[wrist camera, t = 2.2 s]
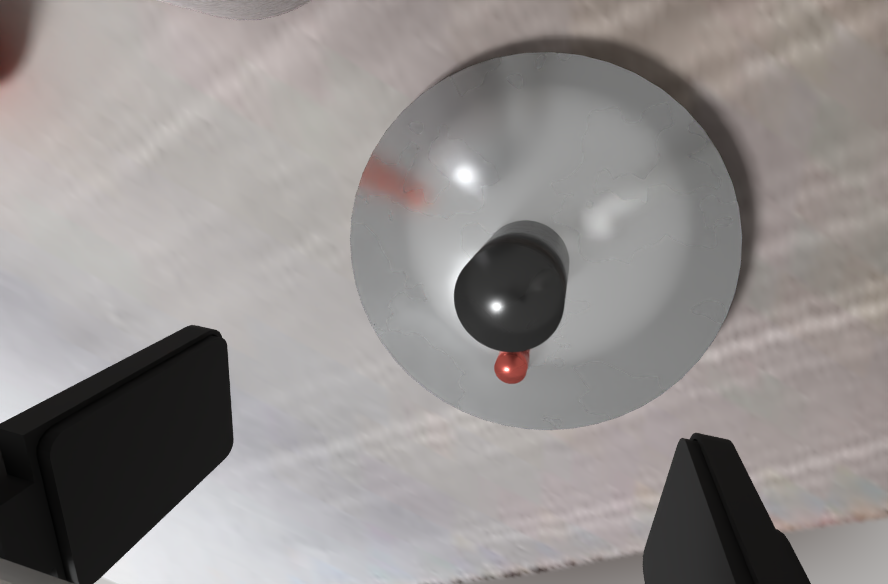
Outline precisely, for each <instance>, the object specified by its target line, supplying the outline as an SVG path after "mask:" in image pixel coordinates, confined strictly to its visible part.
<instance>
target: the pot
mask: <svg viewBox="0 0 888 584" xmlns="http://www.w3.org/2000/svg"><path fill="white" fill-rule="evenodd" d="M157 1H161V2H164V3H168V4H172V5H175V6H179V7H183V8H187V9H190V10H194V11H198V12H201V13H205V14H209V15H212V16H216V17H220V18H227V19H233V20H260V19H265V18H270V17H275V16H279V15H281V14H284V13H287V12H289V11H292V10H295V9H297V8H299V7H301V6H302V5H304V4H306V3H307V2H309V1H311V0H157Z"/></svg>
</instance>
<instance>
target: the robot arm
mask: <svg viewBox="0 0 888 584" xmlns="http://www.w3.org/2000/svg"><path fill="white" fill-rule="evenodd" d="M232 446H233V425H232V411H231V396H230V381H229V366H228V351H227V343H226V341H225V339H223V338H222V336H221V334H220V332H219V331H217V330H214V329H210V328H205V327H200V326H195V325H190V326H187V327H185V328H183V329H181V330H179V331H177V332H175V333H174V334H172V335H170V336H168V337H166V338H164V339H162V340H160V341H158V342H156V343H154V344H152V345H150V346H149V347H147V348H145V349H143V350H141V351H139V352H137V353H135V354H133V355H131V356H129V357H127V358H125V359H124V360H122V361H120V362H118V363H116V364H114V365H112V366H110V367H108V368H106V369H104V370H102V371H101V372H99V373H97V374H95V375H93V376H91V377H89V378H87V379H85V380H83V381H81V382H79V383H77V384H76V385H74V386H72V387H70V388H68V389H66V390H64V391H62V392H60V393H58V394H56V395H54V396H52V397H51V398H49V399H47V400H45V401H43V402H41V403H39V404H37V405H35V406H33V407H31V408H29V409H27V410H26V411H24V412H22V413H20V414H18V415H16V416H14V417H12V418H10V419H8V420H6V421H4V422H2V423H1V424H0V584H94V583H95V582H96V581H97V580H99V579H100V578H101V577H102V576H103V575H104V574H105V573H106V572H107V571H108V570H109V569H110V568H111V567H112V566H113V565H114V564H115V563H116V562H117V561H118V560H120V559H121V558H122V557H123V556H124V555H125V554H126V553H127V552H128V551H129V550H130V549H131V548H132V547H133V546H134V545H135V544H136V543H137V542H138V541H139V540H140V539H141V538H143V537H144V536H145V535H146V534H147V533H148V532H149V531H150V530H151V529H152V528H153V527H154V526H155V525H156V524H157V523H158V522H159V521H160V520H161V519H162V518H163V517H165V516H166V515H167V514H168V513H169V512H170V511H171V510H172V509H173V508H174V507H175V506H176V505H177V504H178V503H179V502H180V501H181V500H182V499H183V498H184V497H185V496H186V495H188V494H189V493H190V492H191V491H192V490H193V489H194V488H195V487H196V486H197V485H198V484H199V483H200V482H201V481H202V480H203V479H204V478H205V477H206V476H207V475H208V474H210V473H211V472H212V471H213V470H214V469H215V468H216V467H217V466H218V465H219V464H220V463H221V462H222V461H223V460H224V459H225V458H226V457H227V456H228V455H229V453H230V451H231V449H232ZM643 574H644V580H645V584H811V583H810V581H809V579H808V577H807V575H806V573H805V571H804V569H803V567H802V566H801V564H800V562H799V560H798V558H797V556H796V554H795V552H794V550H793V548H792V546H791V544H790V542H789V541H788V539H787V538H786V536H785V535H784V534H783V533H782V532H780V531H779V530H777V529H775V527H774V525H773V523H772V521H771V519H770V517H769V515H768V513H767V511H766V509H765V507H764V505H763V503H762V501H761V499H760V497H759V495H758V493H757V491H756V489H755V487H754V485H753V483H752V481H751V479H750V477H749V475H748V473H747V471H746V469H745V467H744V465H743V463H742V461H741V459H740V457H739V455H738V453H737V451H736V449H735V447H734V445H733V443H732V442H731V441H730V440H727V439H723V438H718V437H713V436H709V435H704V434H699V433H694V434H693V435H692V436H691V438H690V440H689V439H684V438H682V439H680V441H679V442H678V445H677V448H676V451H675V454H674V457H673V460H672V464H671V467H670V470H669V473H668V476H667V479H666V483H665V486H664V489H663V492H662V495H661V498H660V502H659V505H658V508H657V511H656V514H655V517H654V521H653V524H652V527H651V530H650V533H649V536H648V540H647V543H646V546H645V550H644V555H643Z"/></svg>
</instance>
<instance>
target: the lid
mask: <svg viewBox="0 0 888 584" xmlns="http://www.w3.org/2000/svg"><path fill="white" fill-rule="evenodd" d="M350 245H351V261H352V267H353V273H354V278H355V284H356V287H357V290H358V293H359V296H360V300H361V303H362V306H363V308H364V310H365V312H366V315H367V317H368V319H369V321H370V324H371V326H372V327H373V329H374V331H375V332H376V334H377V336H378V337H379V339H380V341H381V342H382V344H383V345H384V347H385V348H386V349H387V350H388V352H389V353H390V354H391V356H392V357H393V358H394V360H395V361H396V362H397V363H398V364H399V365H400V366H401V367H402V368H403V369H404V370H405V371H406V372H407V374H408V375H409V376H411V377H412V378H413V379H414V380H415V381H416V382H418V383H419V384H420V385H421V386H422V387H424V388H425V389H426V390H427V391H429V392H430V393H432V394H433V395H435V396H436V397H438V398H439V399H441V400H442V401H444V402H446V403H447V404H449V405H451V406H453V407H455V408H457V409H459V410H461V411H463V412H465V413H468V414H470V415H473V416H475V417H478V418H480V419H483V420H486V421H490V422H494V423H497V424H501V425H505V426H511V427H518V428H524V429H538V430H557V429H571V428H578V427H583V426H589V425H594V424H598V423H601V422H604V421H608V420H611V419H614V418H617V417H620V416H622V415H624V414H627V413H629V412H631V411H633V410H635V409H638V408H640V407H642V406H644V405H645V404H647V403H648V402H650V401H652V400H653V399H655V398H657V397H658V396H660V395H662V394H663V393H664V392H665V391H667V390H668V389H669V388H670V387H672V386H673V385H674V384H675V383H677V382H678V381H679V380H680V379H682V378H683V377H684V376H685V374H686V373H687V372H688V371H689V370H690V369H691V368H692V367H693V366H694V365H695V364H696V363H697V362H698V361H699V360H700V358H701V357H702V356H703V354H704V353H705V351H706V350H707V349H708V347H709V346H710V345H711V343H712V342H713V340H714V339H715V337H716V335H717V333H718V331H719V329H720V328H721V326H722V324H723V322H724V320H725V318H726V316H727V314H728V311H729V308H730V305H731V302H732V300H733V297H734V294H735V291H736V286H737V281H738V276H739V271H740V266H741V251H742V231H741V221H740V212H739V206H738V203H737V199H736V195H735V191H734V188H733V184H732V181H731V178H730V176H729V174H728V172H727V169H726V167H725V165H724V162H723V160H722V158H721V156H720V154H719V152H718V151H717V149H716V148H715V146H714V145H713V143H712V141H711V140H710V138H709V137H708V135H707V134H706V132H705V130H704V129H703V128H702V127H701V126H700V125H699V124H698V122H697V121H696V120H695V119H694V118H693V117H692V116H691V115H690V113H689V112H688V111H687V110H686V109H685V108H684V107H683V106H682V105H680V104H679V103H678V102H677V101H676V100H674V99H673V98H672V97H671V96H670V95H668V94H667V93H666V92H665V91H664V90H662V89H661V88H659V87H658V86H656V85H654V84H653V83H651V82H649V81H648V80H646V79H644V78H643V77H641V76H639V75H638V74H636V73H634V72H631V71H629V70H626V69H624V68H622V67H619V66H617V65H614V64H612V63H609V62H606V61H602V60H598V59H594V58H590V57H586V56H582V55H575V54H566V53H556V52H539V53H521V54H515V55H510V56H504V57H499V58H494V59H491V60H488V61H485V62H482V63H479V64H476V65H473V66H470V67H467V68H465V69H463V70H461V71H459V72H457V73H455V74H453V75H451V76H449V77H447V78H445V79H443V80H442V81H440V82H439V83H437V84H436V85H434V86H433V87H431V88H430V89H429V90H427V91H426V92H424V93H423V94H421V95H420V96H419V97H418V98H417V99H416V100H415V101H414V102H412V103H411V104H410V105H409V106H408V107H407V108H406V109H405V110H404V111H403V112H402V113H401V114H400V115H399V116H398V117H397V119H396V120H395V121H394V122H393V123H392V124H391V126H390V127H389V128H388V129H387V130H386V132H385V133H384V135H383V137H382V138H381V140H380V141H379V143H378V144H377V146H376V147H375V149H374V151H373V152H372V155H371V157H370V159H369V161H368V163H367V165H366V167H365V169H364V172H363V174H362V177H361V180H360V183H359V186H358V190H357V193H356V196H355V202H354V207H353V212H352V218H351V235H350Z"/></svg>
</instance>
